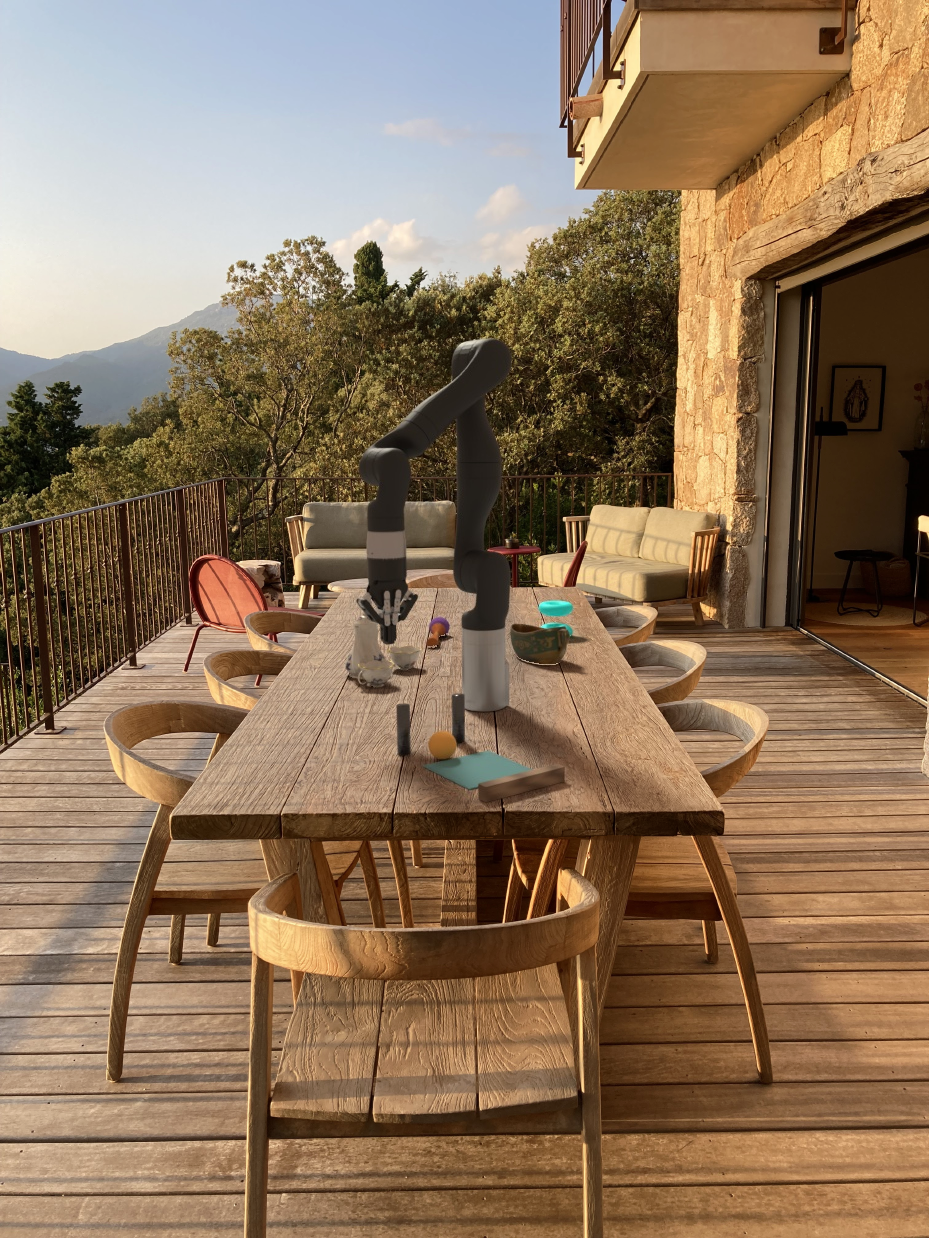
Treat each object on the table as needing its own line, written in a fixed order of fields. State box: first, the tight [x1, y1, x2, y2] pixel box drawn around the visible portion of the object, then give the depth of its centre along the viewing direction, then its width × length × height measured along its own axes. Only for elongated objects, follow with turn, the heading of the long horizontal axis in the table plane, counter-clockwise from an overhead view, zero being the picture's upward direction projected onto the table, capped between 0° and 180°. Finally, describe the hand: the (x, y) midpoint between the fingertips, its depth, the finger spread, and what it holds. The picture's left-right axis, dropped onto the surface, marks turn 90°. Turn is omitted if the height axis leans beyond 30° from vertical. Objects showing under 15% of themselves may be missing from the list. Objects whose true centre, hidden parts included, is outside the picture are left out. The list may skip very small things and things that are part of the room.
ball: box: [427, 730, 458, 760], centre depth 166 cm, size 5×5×5 cm
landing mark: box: [422, 750, 533, 791], centre depth 161 cm, size 14×14×1 cm
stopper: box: [477, 763, 566, 803], centre depth 151 cm, size 16×2×2 cm, turn 125°
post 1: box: [395, 702, 412, 757], centre depth 169 cm, size 2×2×9 cm
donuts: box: [538, 600, 574, 636], centre depth 273 cm, size 10×10×10 cm
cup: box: [509, 623, 571, 664], centre depth 242 cm, size 13×20×10 cm, turn 7°
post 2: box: [451, 692, 466, 744], centre depth 175 cm, size 2×2×9 cm
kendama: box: [426, 616, 451, 646], centre depth 268 cm, size 6×6×20 cm
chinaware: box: [344, 610, 423, 688], centre depth 226 cm, size 28×17×17 cm, turn 167°
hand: (388, 643), depth 182 cm, fingers closed
